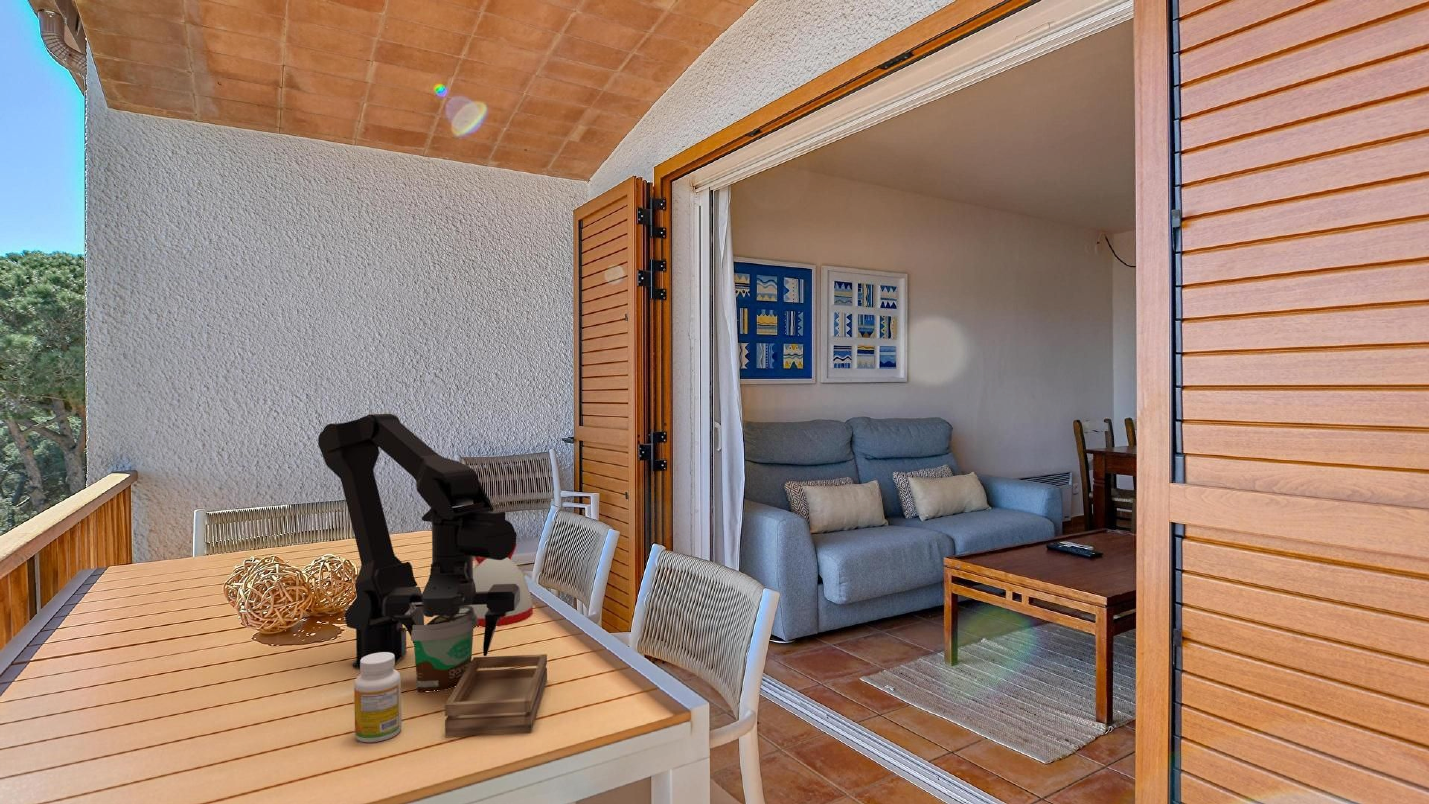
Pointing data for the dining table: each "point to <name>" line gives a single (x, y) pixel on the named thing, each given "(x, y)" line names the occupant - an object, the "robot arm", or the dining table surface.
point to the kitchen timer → (502, 573)
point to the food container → (443, 649)
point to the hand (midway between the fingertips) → (453, 656)
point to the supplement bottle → (377, 698)
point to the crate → (497, 696)
